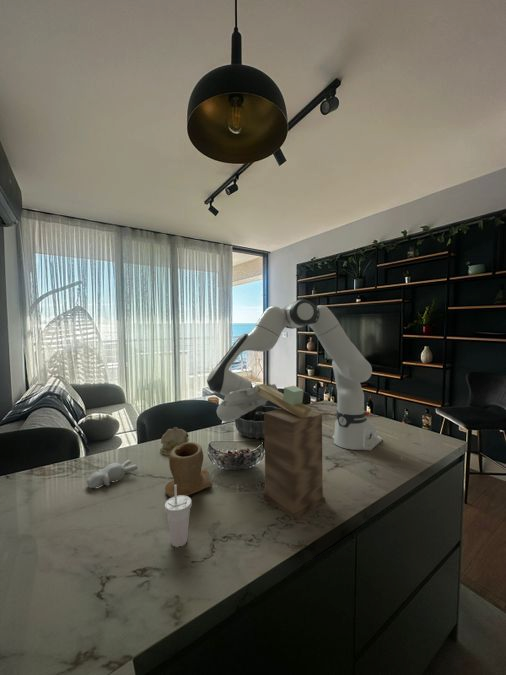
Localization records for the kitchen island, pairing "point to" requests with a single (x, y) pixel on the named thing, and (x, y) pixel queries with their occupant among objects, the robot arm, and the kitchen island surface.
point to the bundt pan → (253, 422)
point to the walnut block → (293, 461)
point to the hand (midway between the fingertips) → (264, 387)
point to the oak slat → (277, 398)
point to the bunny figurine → (110, 474)
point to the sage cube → (293, 395)
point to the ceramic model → (173, 440)
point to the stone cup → (187, 470)
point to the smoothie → (178, 517)
